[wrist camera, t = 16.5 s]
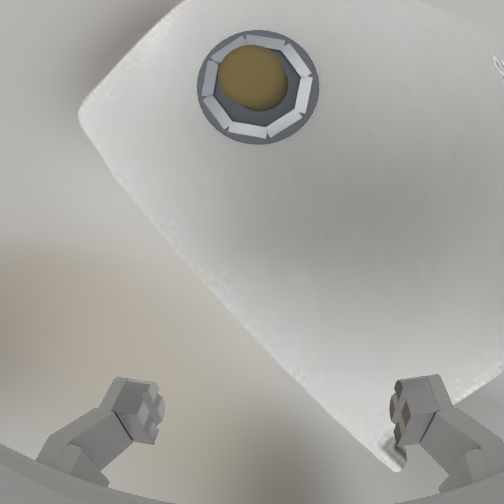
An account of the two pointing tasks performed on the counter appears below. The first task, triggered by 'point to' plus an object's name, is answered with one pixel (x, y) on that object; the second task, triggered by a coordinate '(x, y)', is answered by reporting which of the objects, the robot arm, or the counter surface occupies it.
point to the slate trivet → (264, 122)
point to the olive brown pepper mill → (253, 78)
